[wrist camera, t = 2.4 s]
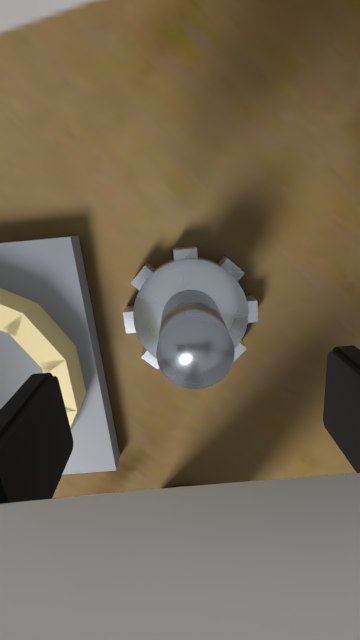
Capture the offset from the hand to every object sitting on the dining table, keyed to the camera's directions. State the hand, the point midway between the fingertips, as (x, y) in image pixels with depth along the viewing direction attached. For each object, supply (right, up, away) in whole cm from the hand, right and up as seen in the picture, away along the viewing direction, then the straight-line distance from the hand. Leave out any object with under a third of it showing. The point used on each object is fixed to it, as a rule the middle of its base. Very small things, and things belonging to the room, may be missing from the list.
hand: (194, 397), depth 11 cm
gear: (0, +3, +10) cm, 11 cm away
